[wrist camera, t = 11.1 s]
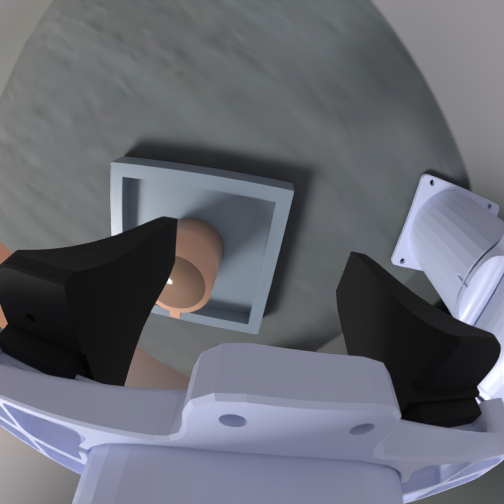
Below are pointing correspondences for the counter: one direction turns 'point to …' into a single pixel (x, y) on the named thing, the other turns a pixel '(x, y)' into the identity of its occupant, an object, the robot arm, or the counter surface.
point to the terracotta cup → (192, 267)
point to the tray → (221, 218)
